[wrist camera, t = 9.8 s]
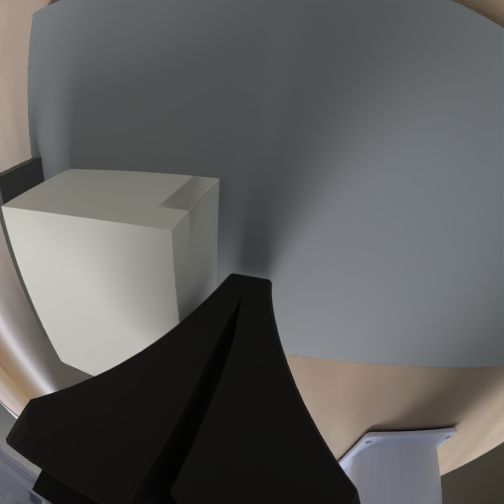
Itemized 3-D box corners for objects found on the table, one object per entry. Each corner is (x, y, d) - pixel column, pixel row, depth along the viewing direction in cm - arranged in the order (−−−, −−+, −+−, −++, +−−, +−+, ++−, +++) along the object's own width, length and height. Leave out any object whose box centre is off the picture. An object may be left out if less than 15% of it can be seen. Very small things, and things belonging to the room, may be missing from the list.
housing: (216, 341, 12) (191, 409, 9) (99, 310, 13) (61, 361, 10) (219, 178, 9) (171, 230, 6) (69, 169, 9) (1, 206, 6)
